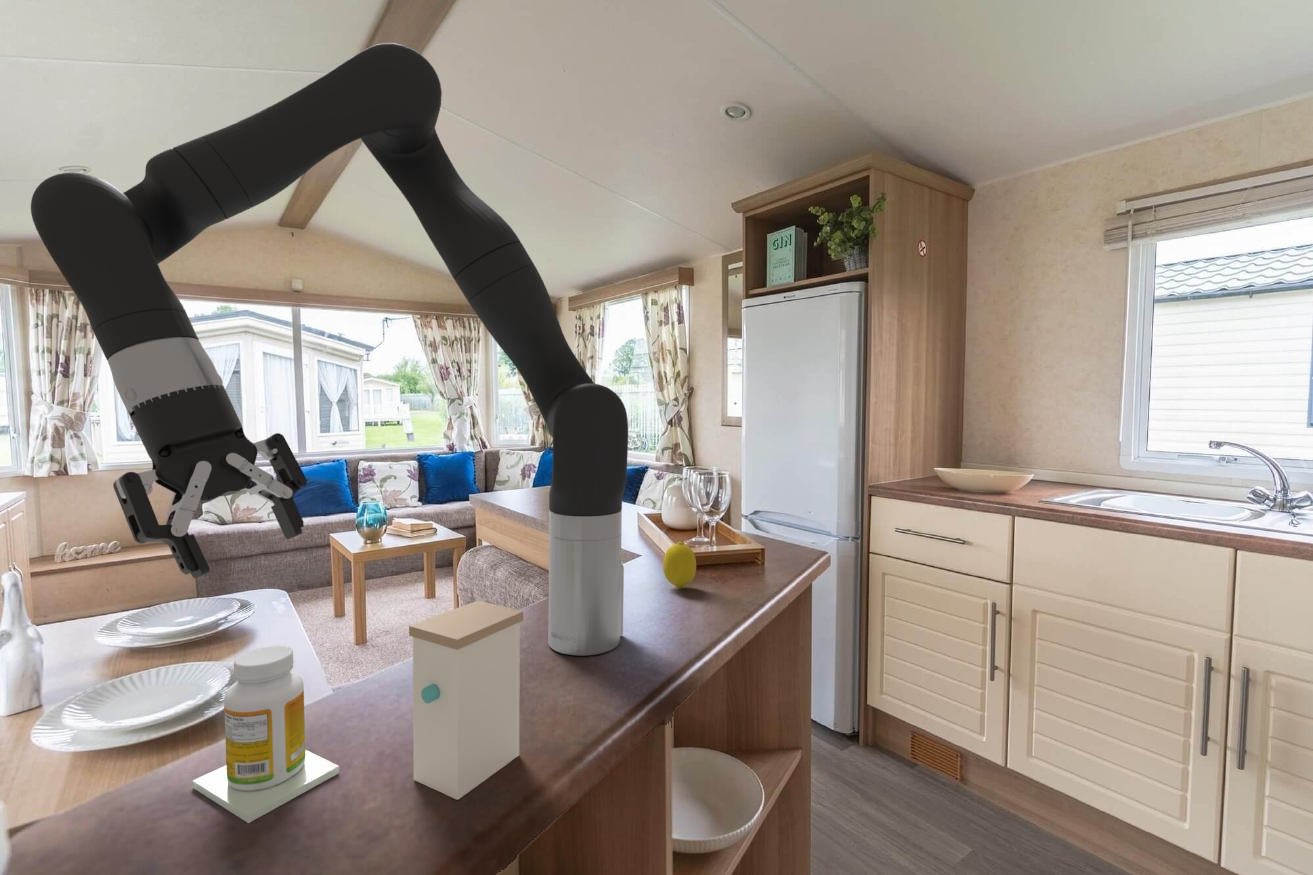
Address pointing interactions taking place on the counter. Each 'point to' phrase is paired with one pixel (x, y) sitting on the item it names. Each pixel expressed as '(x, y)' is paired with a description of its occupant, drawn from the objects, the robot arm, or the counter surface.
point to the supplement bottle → (264, 720)
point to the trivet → (267, 799)
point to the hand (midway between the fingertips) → (251, 554)
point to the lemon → (679, 565)
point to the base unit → (465, 696)
